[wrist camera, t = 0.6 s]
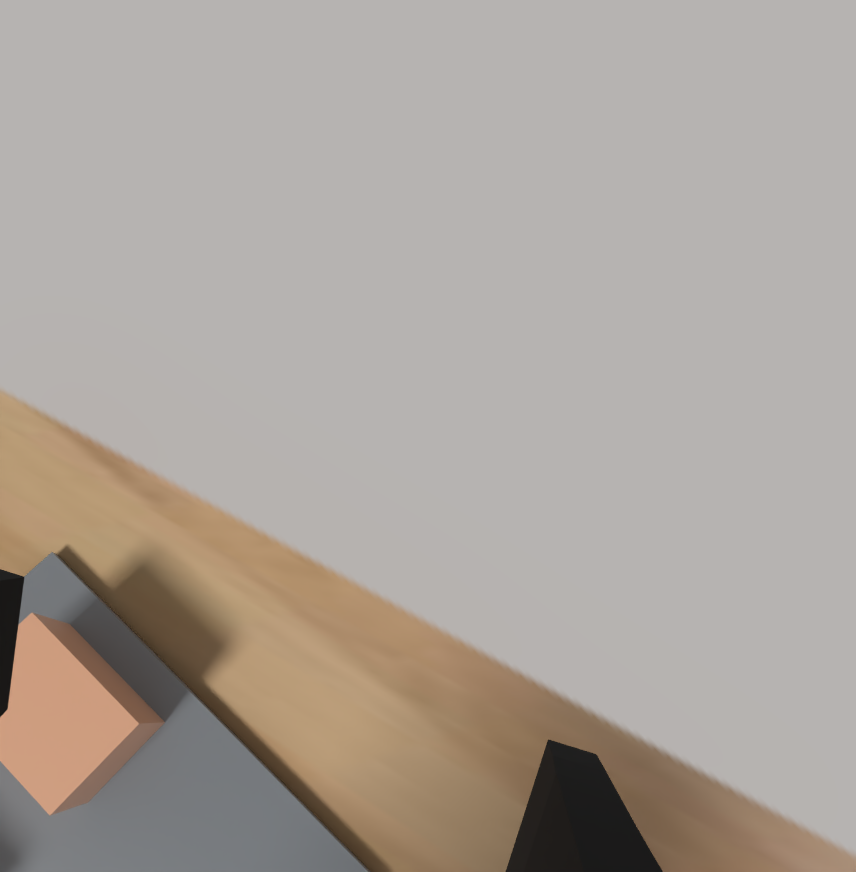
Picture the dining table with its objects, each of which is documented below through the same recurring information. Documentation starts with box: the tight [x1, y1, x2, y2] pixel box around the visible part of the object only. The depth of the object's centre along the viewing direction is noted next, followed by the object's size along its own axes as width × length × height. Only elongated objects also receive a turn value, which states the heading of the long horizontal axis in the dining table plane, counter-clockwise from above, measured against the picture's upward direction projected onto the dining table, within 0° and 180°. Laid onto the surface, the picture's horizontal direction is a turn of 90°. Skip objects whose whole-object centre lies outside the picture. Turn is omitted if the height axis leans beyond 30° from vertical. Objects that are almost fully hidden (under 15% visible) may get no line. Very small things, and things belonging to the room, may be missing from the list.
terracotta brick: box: [0, 613, 165, 815], centre depth 29 cm, size 4×6×4 cm, turn 49°
